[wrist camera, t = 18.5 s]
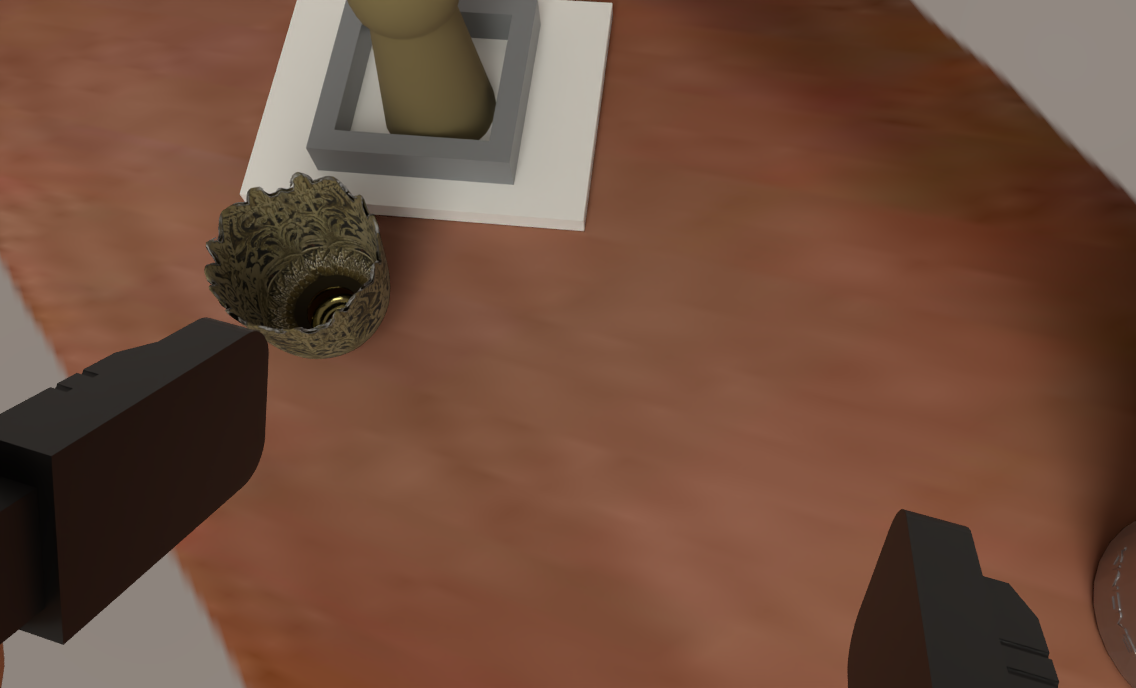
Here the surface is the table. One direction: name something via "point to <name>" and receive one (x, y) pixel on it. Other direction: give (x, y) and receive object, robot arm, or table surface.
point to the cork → (427, 68)
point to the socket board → (434, 164)
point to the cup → (302, 267)
